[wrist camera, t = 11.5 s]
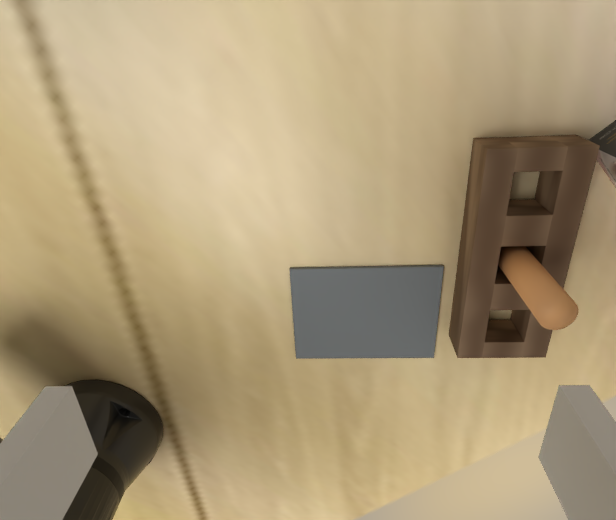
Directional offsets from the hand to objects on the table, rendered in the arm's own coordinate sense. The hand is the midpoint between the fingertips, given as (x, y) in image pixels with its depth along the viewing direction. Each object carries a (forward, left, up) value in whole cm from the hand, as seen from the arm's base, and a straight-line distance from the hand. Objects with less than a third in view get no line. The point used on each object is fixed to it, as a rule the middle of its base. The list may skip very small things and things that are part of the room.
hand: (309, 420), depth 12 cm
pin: (+18, -11, -33) cm, 39 cm away
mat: (+4, -19, -33) cm, 38 cm away
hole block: (+18, -11, -33) cm, 39 cm away
